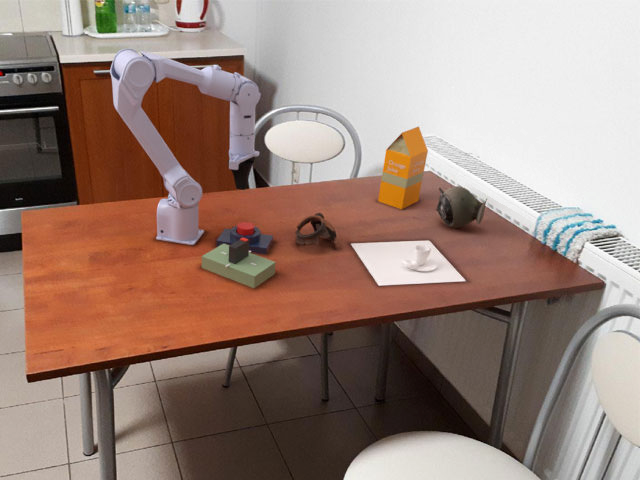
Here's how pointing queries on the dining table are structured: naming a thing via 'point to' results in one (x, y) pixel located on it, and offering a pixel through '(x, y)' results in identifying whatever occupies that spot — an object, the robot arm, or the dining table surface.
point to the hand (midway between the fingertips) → (241, 188)
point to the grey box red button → (256, 240)
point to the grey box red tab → (238, 250)
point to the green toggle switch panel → (239, 266)
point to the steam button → (245, 228)
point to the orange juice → (403, 170)
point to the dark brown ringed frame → (316, 231)
